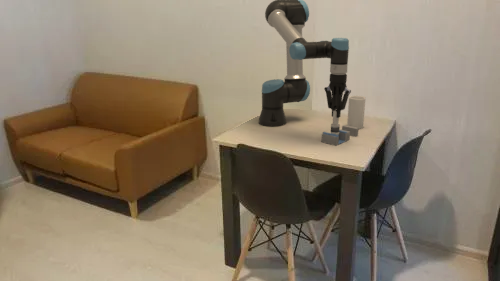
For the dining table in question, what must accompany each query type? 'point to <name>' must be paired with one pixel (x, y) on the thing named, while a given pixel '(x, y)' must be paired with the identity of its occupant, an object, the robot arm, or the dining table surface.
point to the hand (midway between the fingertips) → (335, 123)
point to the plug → (335, 129)
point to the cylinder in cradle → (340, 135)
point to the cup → (356, 111)
